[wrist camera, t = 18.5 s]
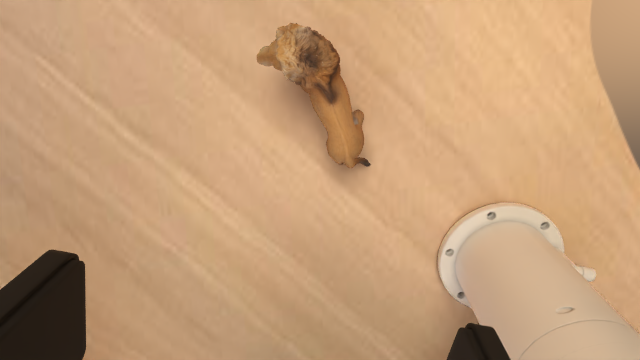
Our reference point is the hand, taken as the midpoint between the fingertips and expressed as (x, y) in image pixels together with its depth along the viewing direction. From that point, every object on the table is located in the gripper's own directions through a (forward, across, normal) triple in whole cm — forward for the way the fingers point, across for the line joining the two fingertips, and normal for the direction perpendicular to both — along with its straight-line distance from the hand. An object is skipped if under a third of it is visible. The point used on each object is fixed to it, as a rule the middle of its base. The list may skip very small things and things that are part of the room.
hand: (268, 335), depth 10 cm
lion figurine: (+30, -1, -1) cm, 30 cm away
